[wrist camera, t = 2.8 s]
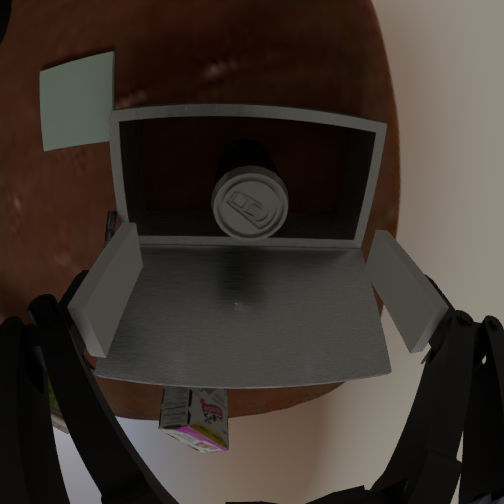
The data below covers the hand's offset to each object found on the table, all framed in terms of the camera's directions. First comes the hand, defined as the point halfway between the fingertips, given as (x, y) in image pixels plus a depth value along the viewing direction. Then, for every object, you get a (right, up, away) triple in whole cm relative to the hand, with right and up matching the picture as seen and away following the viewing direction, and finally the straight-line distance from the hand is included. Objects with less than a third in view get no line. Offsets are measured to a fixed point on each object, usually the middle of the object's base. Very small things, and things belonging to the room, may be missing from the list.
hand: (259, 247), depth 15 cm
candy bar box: (-9, -17, +30) cm, 35 cm away
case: (-2, +7, +15) cm, 17 cm away
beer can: (-1, +9, +14) cm, 17 cm away
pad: (-20, +16, +8) cm, 27 cm away
